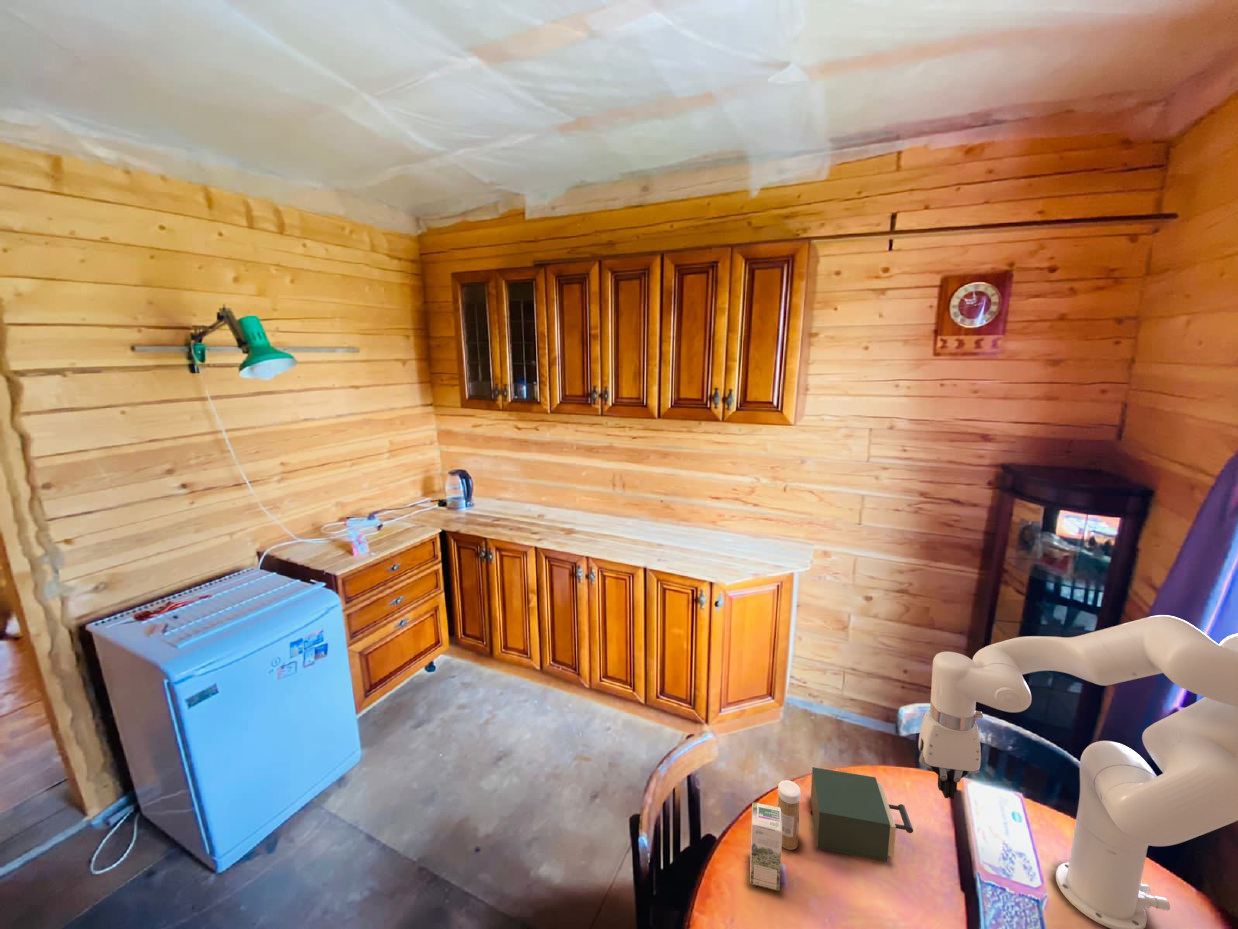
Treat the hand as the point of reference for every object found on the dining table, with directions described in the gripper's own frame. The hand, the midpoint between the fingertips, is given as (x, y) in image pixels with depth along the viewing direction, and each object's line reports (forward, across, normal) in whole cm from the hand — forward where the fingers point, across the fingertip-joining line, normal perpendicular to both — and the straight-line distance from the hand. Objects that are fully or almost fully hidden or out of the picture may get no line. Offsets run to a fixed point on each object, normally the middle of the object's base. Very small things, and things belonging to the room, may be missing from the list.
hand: (946, 793), depth 104 cm
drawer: (+12, +15, 0) cm, 19 cm away
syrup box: (+13, +37, +15) cm, 42 cm away
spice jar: (+13, +32, +6) cm, 35 cm away
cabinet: (+13, +19, 0) cm, 23 cm away
